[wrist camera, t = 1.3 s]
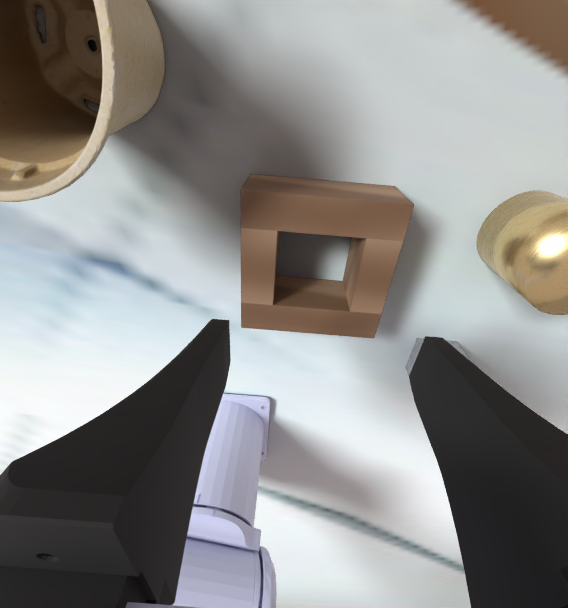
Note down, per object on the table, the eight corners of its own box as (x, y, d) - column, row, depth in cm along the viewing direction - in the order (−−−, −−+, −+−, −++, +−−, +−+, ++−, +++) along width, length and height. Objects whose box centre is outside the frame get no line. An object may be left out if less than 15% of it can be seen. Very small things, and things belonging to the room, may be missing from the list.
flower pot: (169, -134, 12) (-47, -513, 4) (221, 149, 17) (161, 189, 10) (-62, -93, 12) (-565, -353, 5) (56, 165, 18) (-114, 214, 10)
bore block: (364, 305, 22) (373, 338, 19) (249, 296, 22) (241, 327, 19) (394, 186, 17) (414, 204, 14) (250, 174, 17) (240, 190, 14)
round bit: (539, 271, 20) (602, 318, 16) (463, 265, 20) (507, 310, 16) (584, 194, 17) (676, 225, 13) (498, 186, 17) (561, 216, 13)
